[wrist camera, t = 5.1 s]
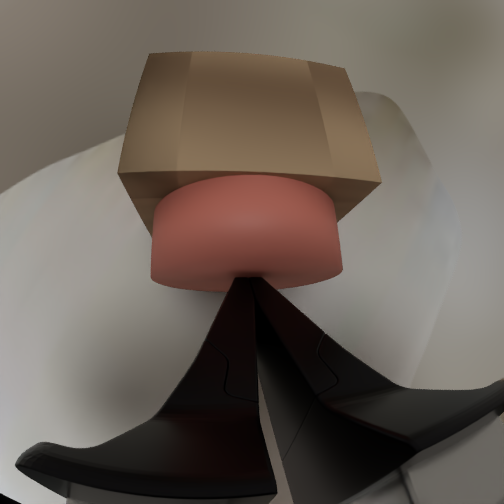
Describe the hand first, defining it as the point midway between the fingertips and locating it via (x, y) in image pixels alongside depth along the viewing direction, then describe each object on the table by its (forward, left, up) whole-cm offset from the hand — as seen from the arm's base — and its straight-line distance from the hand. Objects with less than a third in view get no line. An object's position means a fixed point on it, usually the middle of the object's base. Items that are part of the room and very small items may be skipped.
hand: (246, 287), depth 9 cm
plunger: (+4, -2, -3) cm, 5 cm away
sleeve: (+4, -2, -8) cm, 9 cm away
